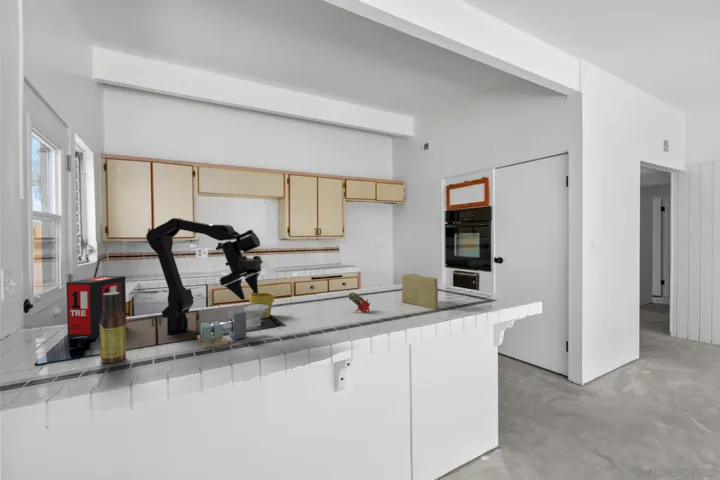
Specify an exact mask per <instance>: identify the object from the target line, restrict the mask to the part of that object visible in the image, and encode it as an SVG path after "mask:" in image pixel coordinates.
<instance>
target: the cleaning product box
mask: <svg viewBox="0 0 720 480" xmlns="http://www.w3.org/2000/svg"><path fill="white" fill-rule="evenodd" d="M65 285H66V312H67V313H66V317H67V318H66V319H67V340H68V341H71V340H70V339H72V338H75V337H78V336H88V337H91V338H97V339H99V338H98V337H100V332H99V321H100V318H101V315H102V312H103V310H104V300H103V294H104V293H110V292H119V293H120V298H119V305H120V307H119V308H120V309H121V311H122V312H123V313H124V316H125V328H127V311H126V310H127V303H126V302H127V301H126V300H127V298H126V297H127V295H126V294H127V293H126V276H125V275H121V276H120V275H118V276H117V275H101V276H97V277H91V278H90V277H89V278H85V279H79V280H73V281H67V282H66V283H65Z"/></svg>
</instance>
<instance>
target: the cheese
mask: <svg viewBox="0 0 720 480" xmlns="http://www.w3.org/2000/svg"><path fill="white" fill-rule="evenodd" d="M438 286H439V284H438V279H437V278H436V277H432V276H431V277H430V276H423V275H419V274H416V273H410V274H409V273H408V274H402V275H401V303H405V304H410V305H414V306H418V307H423V308H425V309H431V310H438V307H439V305H438V302H439V301H438V300H439V299H438V298H439V288H438Z"/></svg>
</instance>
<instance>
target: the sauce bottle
mask: <svg viewBox="0 0 720 480" xmlns="http://www.w3.org/2000/svg"><path fill="white" fill-rule="evenodd" d="M119 298H120V293H119V292H110V293H104V294H103V300H104V310H103V312H102V315H101V318H100V321H99V332H100V338H99V353H100V354H99V355H100V360H101V362H102V363H103V364H104V363H105V364H111V363H112V364H113V363H117V362H121V361H123V360H125V358H126V357H127V354H126V353H127V333H126V329H127V327H125V316H124V313H123V312H122V311H121V309H120V308H119V307H120V305H119Z"/></svg>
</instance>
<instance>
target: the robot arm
mask: <svg viewBox="0 0 720 480" xmlns="http://www.w3.org/2000/svg"><path fill="white" fill-rule="evenodd" d="M180 231H187V232H192V233H196V234H201V235H202V234H203V235H206V236H207V237H210V238H211V239H214V240H217V241H218V243H217V246H216V248H215V251H221V250H222V252H223V255H224V257H225V259H226V262H225V266H228V267H229V270H230V273H228V274H226V275H223V276H220V278H219V283H220V286H221V287H223V286H224V288H226V289H228V290H230V291H231V292H232V293H233V294H234V295H236V297H238V298H239V299H240V300H242V301H244V300H245V299H246V298H245V294H244V291H243V288H242V280H243V278H242V277H244V280H245V282H246V283H247V285H248V286H249V288H250V289H251V291H253V294H254V293H255V294H256V293H259V287H258V278H259V276H260V274H261V272H262V264H263V260H262V258H261V256H260V255H255V256H253V257H252V258H250V259H248V257H247V256H245V255H243V254H242V252H244V253H247V252H249V251H251V250H254V249H256V248H259V247H261V241H260V239H259V237H258V235H256V233H255V232H254V230H253V229H249V230H247V231H245V232H243V233H239V232H237V231H236V230H235V229H234V227H233V226H232V225H231V224H210V223H209V224H208V223H203V222H198V221H193V220H187V219H183V218H181V217H180V218H179V217H174V218H173V217H172V218H171V219H170V218H169V220H168V221H166V222H164V223H162V224H160V225H158V226H156V227H155V228H151V229H149V230H148V231H147V233H146V235H145V238H146V241H147V242H148V244H149V247H150V248H151V249H152V250H153V251H154V252H155V253H156V255H157V258H158V262H159V263H160V266H161V270H162V272H163V276H164V279H165V283H166V285H167V288H168V294H167V306H166V307H165V308H164V309H163V310H162V311H161V315H162V317H163V318H166V329H165V332H166V334H167V335H173V334H175V335H176V334H181V333H186V332H188V329H189V318H188V317H187V314H188V313H189V312H190V309H191V308H192V307H193V305H194V299H195V297H194V295H193V292H192V289H191V288H188V289H187V288H186V287H185V286H184V284H183V282H182V278H181V276H180V272H179V269H178V266H177V263H176V260H175V257H174V254H173V251H172V250H173V249H172V248H173V245H174V242H173V241H174V240H173V238H174V237H175V236H177V235H178V233H179V232H180ZM232 240H233V241H232ZM220 241H225V242H220ZM240 278H241V279H240Z"/></svg>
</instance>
